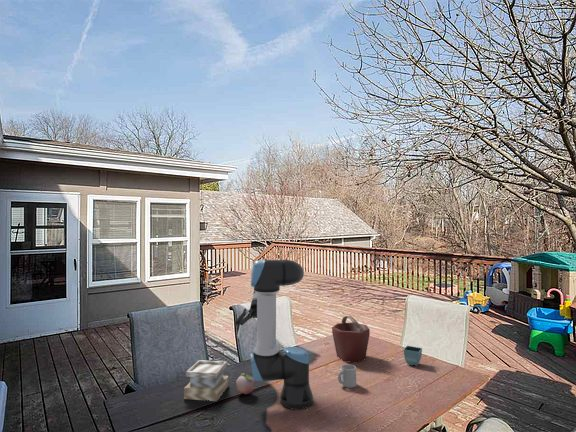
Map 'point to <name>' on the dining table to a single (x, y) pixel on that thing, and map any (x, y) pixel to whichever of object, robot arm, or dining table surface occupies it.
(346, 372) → the cup
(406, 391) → the dining table surface
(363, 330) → the bucket
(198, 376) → the block tower
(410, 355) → the flower pot
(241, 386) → the decorative fruit
